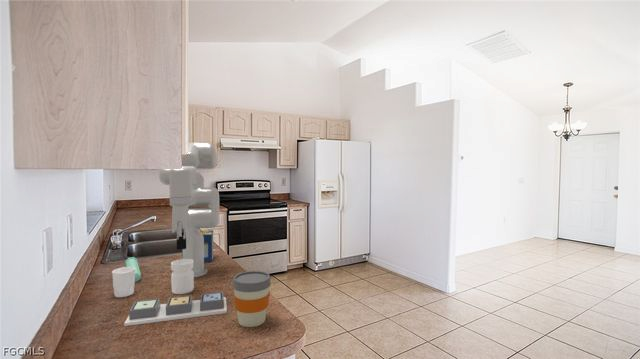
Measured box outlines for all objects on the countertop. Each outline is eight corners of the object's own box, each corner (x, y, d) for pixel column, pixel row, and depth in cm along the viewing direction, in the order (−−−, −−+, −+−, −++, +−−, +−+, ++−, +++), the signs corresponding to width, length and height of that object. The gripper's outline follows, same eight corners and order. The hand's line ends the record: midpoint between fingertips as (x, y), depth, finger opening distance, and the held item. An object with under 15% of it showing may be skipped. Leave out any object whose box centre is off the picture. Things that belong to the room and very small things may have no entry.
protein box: (185, 258, 179) (184, 231, 178) (213, 256, 182) (213, 230, 182) (181, 263, 168) (181, 235, 168) (212, 262, 172) (211, 233, 172)
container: (139, 269, 142) (135, 254, 162) (124, 276, 139) (122, 260, 159) (145, 280, 143) (140, 264, 164) (131, 287, 140) (127, 270, 161)
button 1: (137, 308, 112) (137, 301, 112) (156, 306, 114) (156, 299, 114) (133, 316, 106) (133, 309, 106) (153, 314, 108) (153, 306, 108)
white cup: (117, 291, 131) (117, 267, 131) (138, 289, 133) (138, 266, 133) (109, 298, 124) (108, 273, 123) (131, 297, 125) (130, 272, 125)
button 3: (203, 301, 119) (203, 294, 119) (220, 299, 121) (220, 292, 121) (203, 308, 113) (203, 301, 113) (220, 306, 115) (220, 299, 115)
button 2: (171, 305, 116) (171, 298, 115) (189, 302, 117) (189, 296, 117) (169, 312, 110) (169, 304, 110) (188, 310, 112) (188, 302, 112)
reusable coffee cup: (238, 333, 99) (238, 286, 99) (229, 316, 110) (228, 274, 110) (275, 324, 105) (276, 279, 105) (263, 309, 116) (263, 268, 116)
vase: (195, 285, 139) (195, 258, 138) (192, 293, 130) (191, 264, 130) (173, 286, 137) (173, 259, 136) (169, 295, 128) (168, 265, 128)
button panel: (133, 310, 114) (133, 299, 114) (225, 299, 124) (225, 289, 124) (124, 326, 103) (124, 314, 103) (226, 312, 113) (226, 301, 113)
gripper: (172, 198, 124) (173, 243, 126) (166, 204, 110) (167, 256, 111) (193, 197, 126) (193, 242, 128) (190, 203, 112) (190, 254, 114)
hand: (181, 248), depth 120 cm, fingers closed
